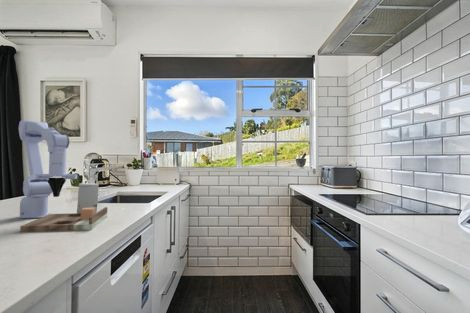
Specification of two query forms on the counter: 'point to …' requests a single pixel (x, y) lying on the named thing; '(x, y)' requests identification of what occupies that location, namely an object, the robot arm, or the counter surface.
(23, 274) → the counter surface
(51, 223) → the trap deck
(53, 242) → the counter surface
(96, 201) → the skincare box
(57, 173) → the robot arm
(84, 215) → the terracotta block
